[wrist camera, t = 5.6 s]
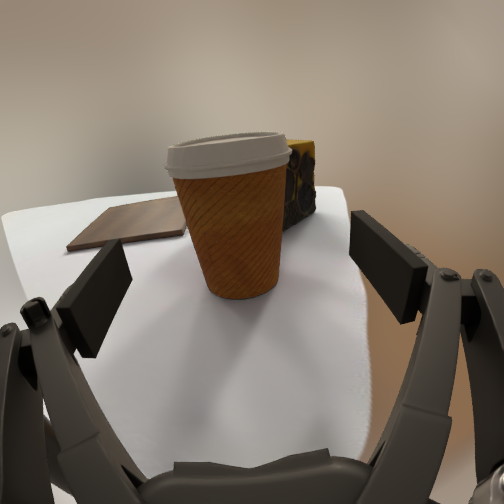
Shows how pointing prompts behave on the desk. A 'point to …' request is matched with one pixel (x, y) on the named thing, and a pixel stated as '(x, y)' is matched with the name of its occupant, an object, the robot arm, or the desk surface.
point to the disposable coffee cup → (233, 207)
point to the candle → (299, 182)
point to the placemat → (133, 223)
